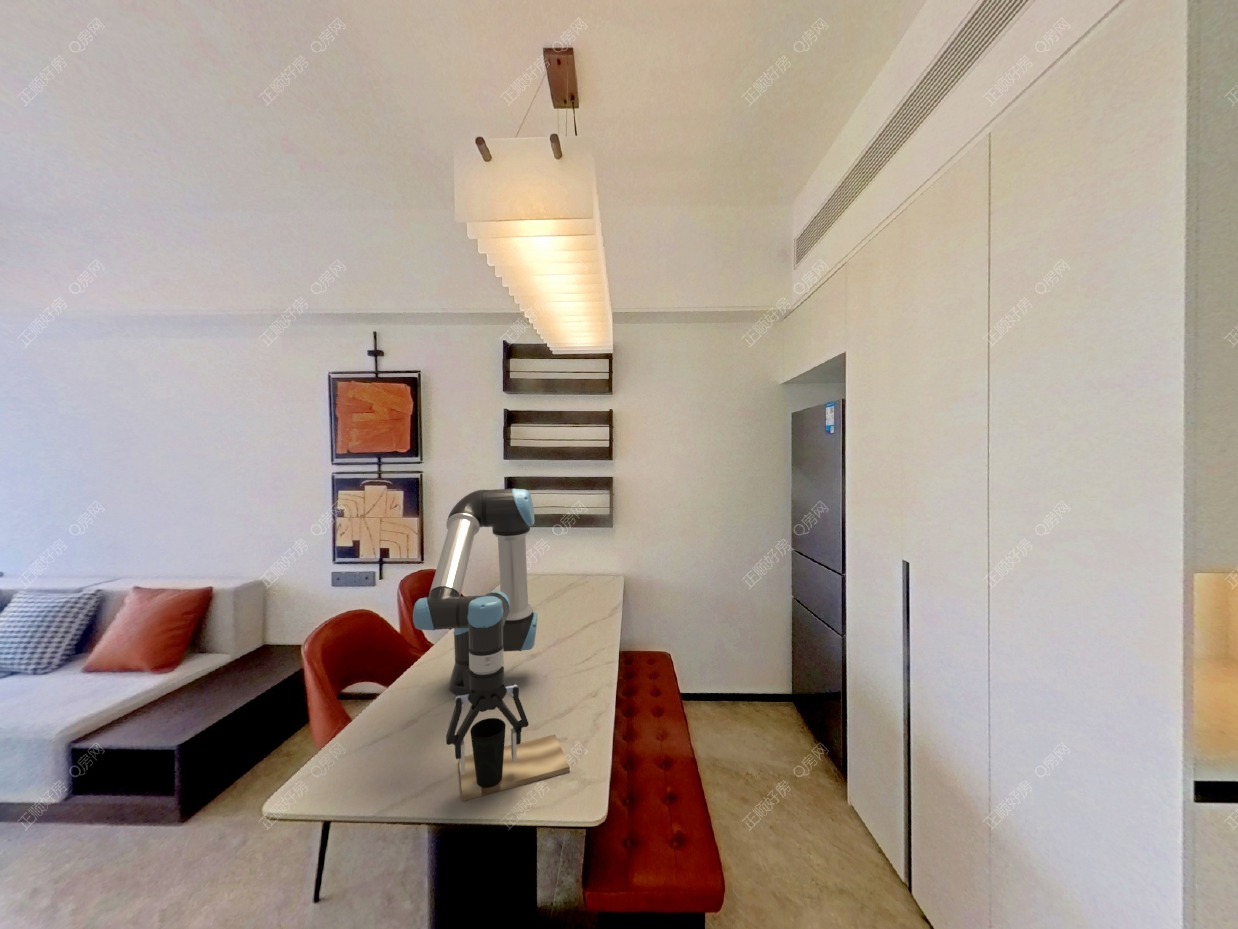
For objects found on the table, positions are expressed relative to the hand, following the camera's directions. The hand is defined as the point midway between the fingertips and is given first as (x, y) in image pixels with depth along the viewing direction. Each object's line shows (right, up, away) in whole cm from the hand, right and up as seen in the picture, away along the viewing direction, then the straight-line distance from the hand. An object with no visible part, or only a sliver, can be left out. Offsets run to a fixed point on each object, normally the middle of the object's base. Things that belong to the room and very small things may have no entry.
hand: (489, 764), depth 107 cm
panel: (+4, -4, +6) cm, 9 cm away
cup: (0, -4, 0) cm, 4 cm away
